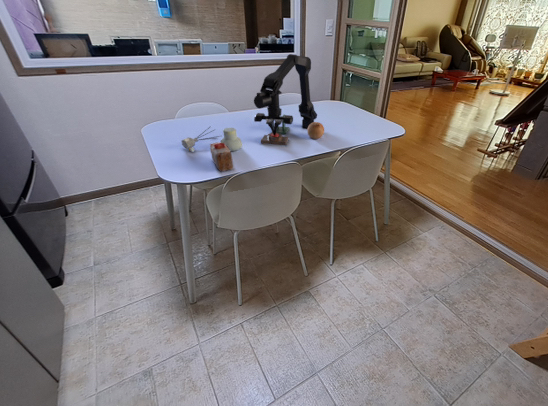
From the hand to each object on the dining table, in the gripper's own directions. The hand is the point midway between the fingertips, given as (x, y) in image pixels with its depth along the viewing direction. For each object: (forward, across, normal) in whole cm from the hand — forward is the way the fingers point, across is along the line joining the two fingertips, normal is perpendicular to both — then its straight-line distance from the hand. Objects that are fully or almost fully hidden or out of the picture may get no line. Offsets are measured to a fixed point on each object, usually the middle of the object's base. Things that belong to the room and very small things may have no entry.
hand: (274, 134), depth 149 cm
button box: (+4, 0, 0) cm, 4 cm away
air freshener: (+4, +18, +13) cm, 23 cm away
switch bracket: (+4, 0, -17) cm, 17 cm away
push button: (+2, 0, 0) cm, 2 cm away
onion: (+4, -20, -11) cm, 24 cm away
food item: (+4, +16, +30) cm, 35 cm away
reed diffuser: (+4, +34, +10) cm, 36 cm away
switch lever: (-4, +1, -12) cm, 13 cm away
